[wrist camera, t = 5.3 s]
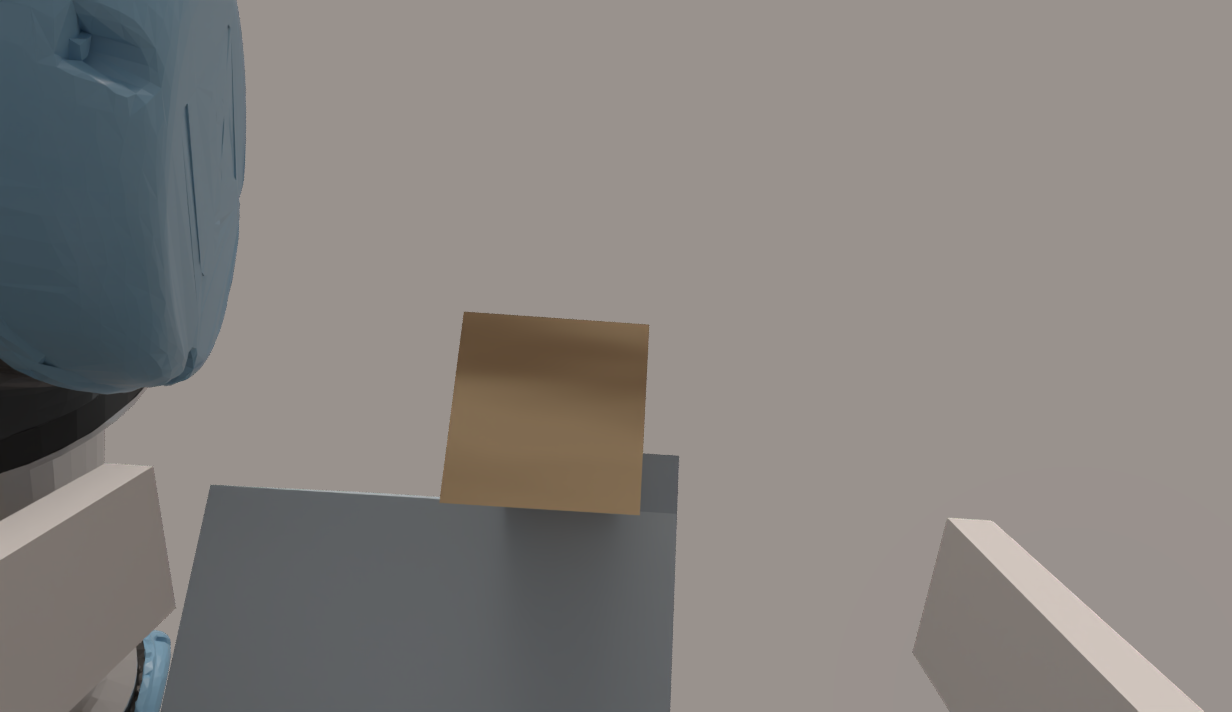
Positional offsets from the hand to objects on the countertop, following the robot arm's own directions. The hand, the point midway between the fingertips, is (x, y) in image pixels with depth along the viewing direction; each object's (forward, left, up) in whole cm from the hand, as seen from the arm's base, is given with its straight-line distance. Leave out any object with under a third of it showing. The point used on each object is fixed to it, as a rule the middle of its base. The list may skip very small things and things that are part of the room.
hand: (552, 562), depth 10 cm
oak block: (-12, +6, +1) cm, 13 cm away
